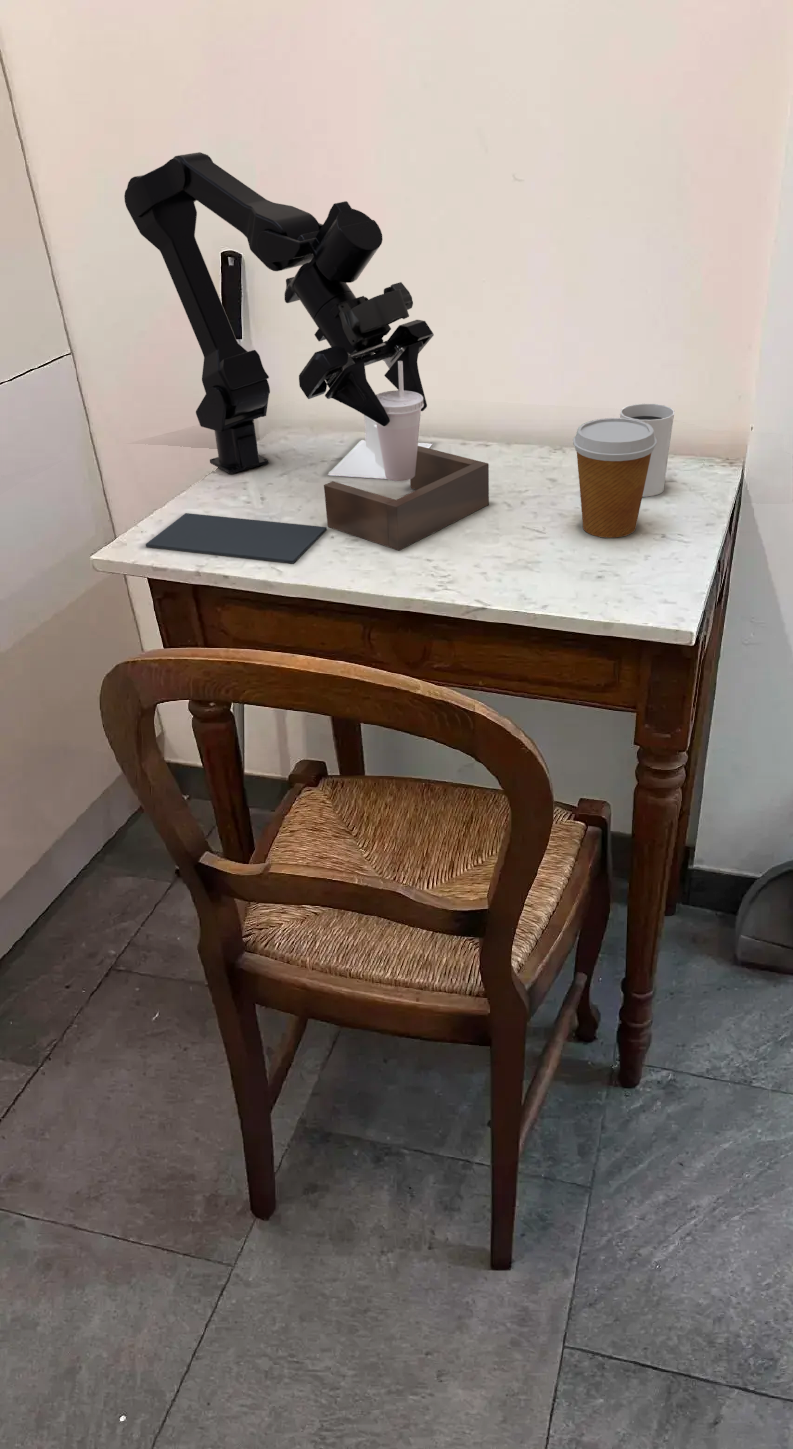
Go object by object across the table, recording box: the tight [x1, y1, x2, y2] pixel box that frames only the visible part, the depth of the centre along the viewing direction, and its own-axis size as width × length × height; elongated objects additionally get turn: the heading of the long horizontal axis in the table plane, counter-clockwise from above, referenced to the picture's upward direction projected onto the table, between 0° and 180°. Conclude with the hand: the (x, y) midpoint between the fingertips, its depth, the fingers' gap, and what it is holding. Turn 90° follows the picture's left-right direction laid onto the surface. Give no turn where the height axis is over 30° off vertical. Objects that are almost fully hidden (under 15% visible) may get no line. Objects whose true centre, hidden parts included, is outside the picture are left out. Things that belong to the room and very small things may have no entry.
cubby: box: [323, 446, 490, 551], centre depth 133 cm, size 12×17×6 cm
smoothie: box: [376, 361, 424, 482], centre depth 129 cm, size 6×6×14 cm
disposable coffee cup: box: [572, 417, 657, 539], centre depth 125 cm, size 10×10×12 cm
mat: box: [145, 512, 328, 564], centre depth 131 cm, size 20×10×1 cm, turn 70°
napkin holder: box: [326, 414, 433, 480], centre depth 151 cm, size 15×11×6 cm
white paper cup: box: [619, 403, 675, 498], centre depth 135 cm, size 7×7×10 cm
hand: (406, 416), depth 127 cm, fingers closed on smoothie, 6 cm apart
